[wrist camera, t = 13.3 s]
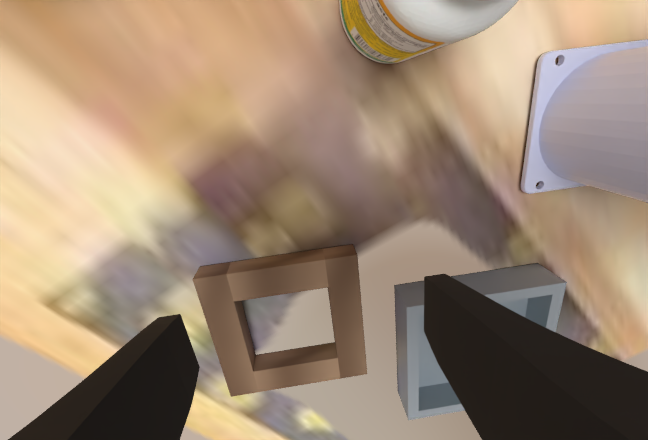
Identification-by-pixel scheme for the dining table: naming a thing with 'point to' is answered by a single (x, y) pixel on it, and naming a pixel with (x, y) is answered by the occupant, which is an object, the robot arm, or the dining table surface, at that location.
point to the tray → (414, 349)
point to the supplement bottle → (415, 24)
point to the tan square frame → (274, 279)
